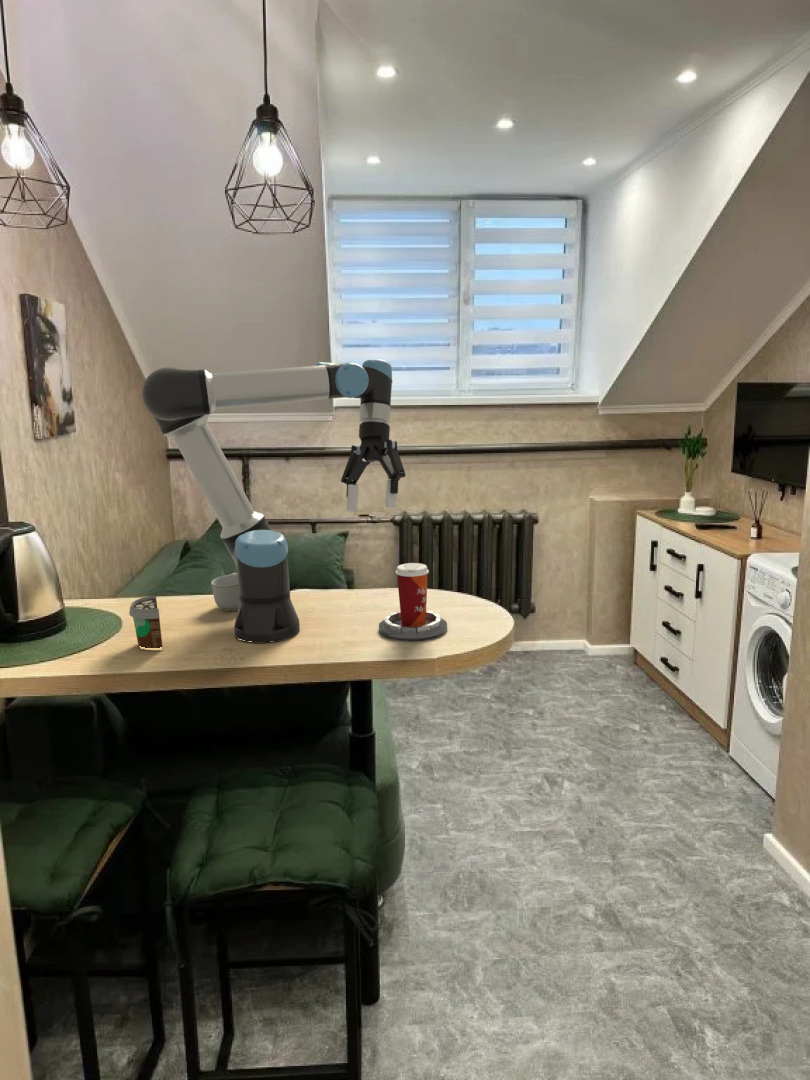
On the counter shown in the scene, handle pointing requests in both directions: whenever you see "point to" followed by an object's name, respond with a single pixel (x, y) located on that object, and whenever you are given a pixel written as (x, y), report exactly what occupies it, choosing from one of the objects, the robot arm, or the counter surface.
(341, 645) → the counter surface
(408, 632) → the rosette plate
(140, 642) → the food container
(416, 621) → the paper cup
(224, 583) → the teacup
